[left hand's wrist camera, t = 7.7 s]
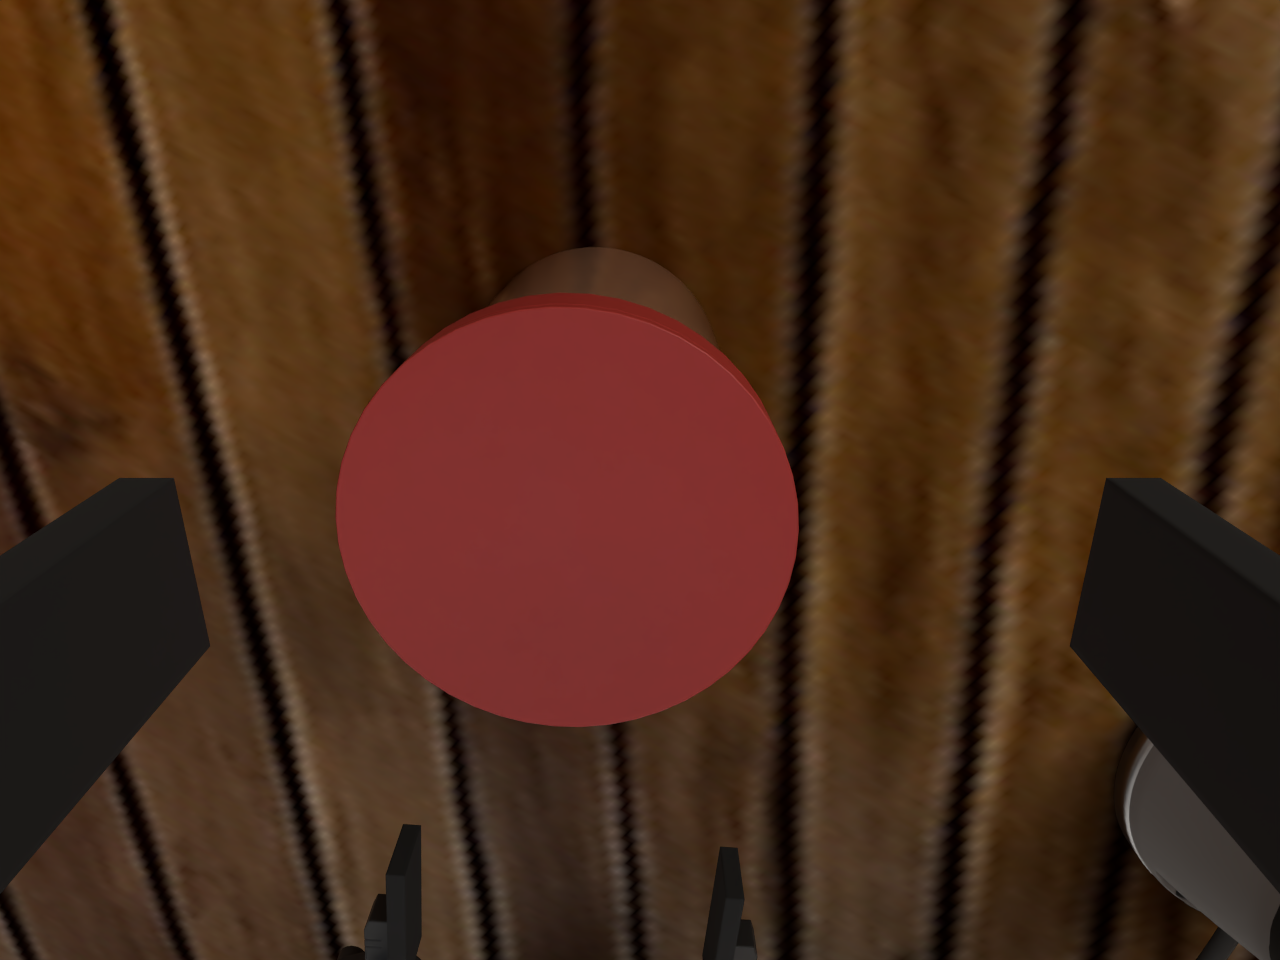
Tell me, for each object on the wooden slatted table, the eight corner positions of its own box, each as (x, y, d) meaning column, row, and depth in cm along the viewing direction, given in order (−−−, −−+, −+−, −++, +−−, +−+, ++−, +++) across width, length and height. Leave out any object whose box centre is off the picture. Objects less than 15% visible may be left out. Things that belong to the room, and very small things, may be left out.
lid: (780, 680, 24) (791, 721, 22) (390, 691, 24) (372, 733, 22) (793, 284, 20) (808, 298, 18) (325, 299, 20) (296, 315, 18)
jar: (718, 480, 36) (768, 693, 22) (488, 487, 36) (395, 704, 22) (718, 242, 33) (778, 320, 19) (463, 251, 33) (333, 335, 19)
